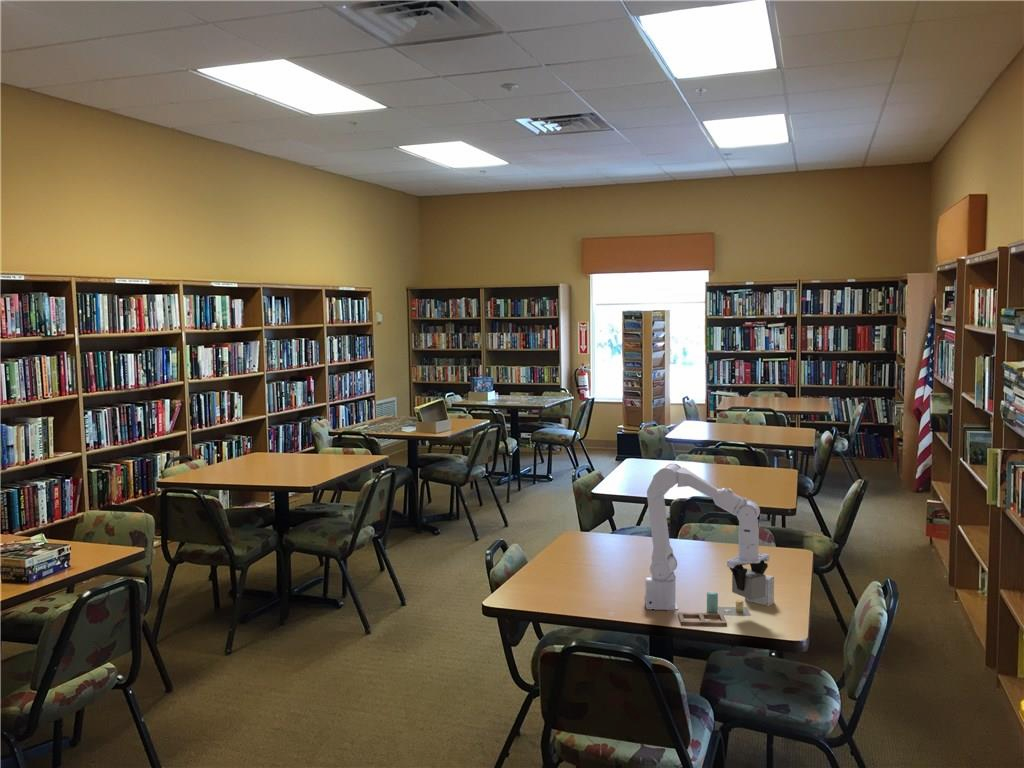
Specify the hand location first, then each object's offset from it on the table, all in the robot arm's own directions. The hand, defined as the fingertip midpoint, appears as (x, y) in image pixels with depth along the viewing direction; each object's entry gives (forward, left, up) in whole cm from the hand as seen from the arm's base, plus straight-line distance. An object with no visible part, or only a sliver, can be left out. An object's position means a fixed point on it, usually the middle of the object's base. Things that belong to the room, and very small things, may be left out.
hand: (748, 588), depth 236 cm
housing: (0, 0, -2) cm, 2 cm away
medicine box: (+6, +14, -9) cm, 18 cm away
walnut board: (-14, -4, -9) cm, 17 cm away
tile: (-3, +5, -9) cm, 11 cm away
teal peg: (-10, +4, -9) cm, 14 cm away
